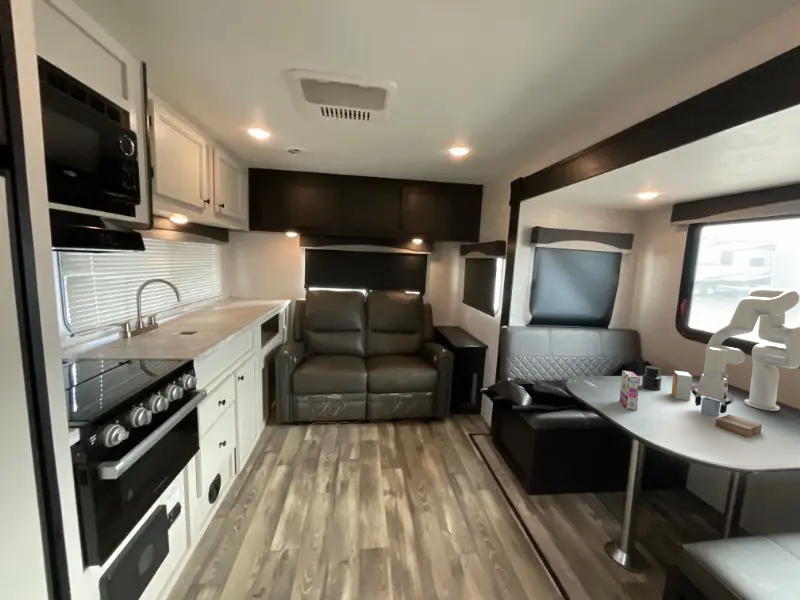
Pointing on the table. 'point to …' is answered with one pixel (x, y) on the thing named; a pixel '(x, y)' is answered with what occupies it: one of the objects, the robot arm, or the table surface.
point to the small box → (681, 385)
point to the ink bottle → (651, 378)
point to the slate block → (710, 406)
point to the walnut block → (738, 425)
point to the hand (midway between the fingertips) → (709, 408)
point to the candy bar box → (629, 390)
